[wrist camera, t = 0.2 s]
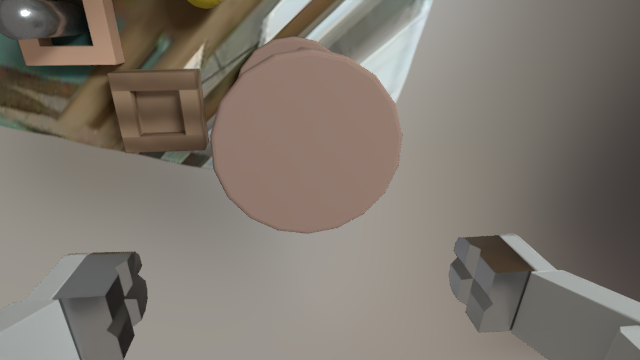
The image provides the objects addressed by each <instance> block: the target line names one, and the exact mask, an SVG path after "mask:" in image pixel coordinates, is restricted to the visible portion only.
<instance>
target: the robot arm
mask: <svg viewBox="0 0 640 360" xmlns="http://www.w3.org/2000/svg"><path fill="white" fill-rule="evenodd" d="M454 252H455V254H456V256H457V258H456V259H455V260H454V261H453V262H452V263H451V265H450V271H449V281H450V286H451V289H452V292H453V294H454V295H455V297H456V298H457V300H459V301H460V302H462V303H464V304H465V305H467V307H466V314H467V315H468V317H469V319H470V320H471V322H472V323H473V324H474V326H475V328H476V329H477V331H478V332H501V331H512V332H511V333H513V334H514V335H515V336H516V337H518V338H519V339H521V340H522V341H523V342H525V343H526V344H527V345H529V346H530V347H531V348H533V349H534V350H536V351H537V352H538V353H540V354H541V355H542V356H544V357H545V358H547V359H548V360H640V303H639V302H637V301H635V300H632V299H630V298H628V297H625V296H623V295H620V294H618V293H616V292H613V291H611V290H609V289H606V288H604V287H601V286H599V285H597V284H594V283H592V282H590V281H587V280H585V279H582V278H580V277H578V276H575V275H573V274H571V273H568V272H566V271H563V270H556V269H555V268H554V267H553V266H551V265H550V264H549V263H548V262H547V261H546V260H545V259H544V258H542V257H541V256H540V255H539V254H538V253H537V252H535V250H533V249H532V248H531V247H530V246H529V245H528V244H527V243H526V242H524V241H523V240H522V239H521V238H520V237H519V236H517V235H515V234H502V235H494V236H478V237H461V238H458V240H457V241H456V243H455V246H454ZM141 267H142V264H141V260H140V256H139V254H137V253H136V252H104V253H76V254H68V255H65V256H64V257H63V258H62V259H61V260H60V261H59V262H58V263H57V264H56V265H55V267H54V268H53V269H52V270H51V271H50V272H49V273H48V274H47V275H46V277H45V278H44V279H43V280H42V281H41V282H40V283H39V284H38V285H37V286H36V288H35V289H34V290H33V291H32V292H31V293H30V294H29V295H28V297H27V298H26V299H25V300H24V301H22V302H14V303H12V304H10V305H8V306H6V307H4V308H3V309H1V310H0V360H124V358H125V356H126V353H127V351H128V349H129V347H130V344H131V342H132V340H133V338H134V331H133V326H135V325H136V324H137V323H138V322H140V321H141V320H142V318H143V315H144V312H145V310H146V304H147V299H148V297H147V286H146V281H145V280H144V279H143V278H142V277H140V276H139V275H138V273H139V271H140V269H141Z"/></svg>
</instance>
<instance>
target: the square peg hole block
mask: <svg viewBox="0 0 640 360" xmlns="http://www.w3.org/2000/svg"><path fill="white" fill-rule="evenodd" d="M107 75H108V79H109V83H110V88H111V92H112V96H113V100H114V105H115V109H116V113H117V118H118V122H119V126H120V130H121V135H122V139H123V143H124V147H125V152H126V153H136V152H162V151H188V150H205V148H206V146H207V144H208V142H209V138H208V130H207V123H206V115H205V107H204V100H203V92H202V85H201V77H200V69H136V70H117V71H114V72H111V73H108V74H107Z"/></svg>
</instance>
